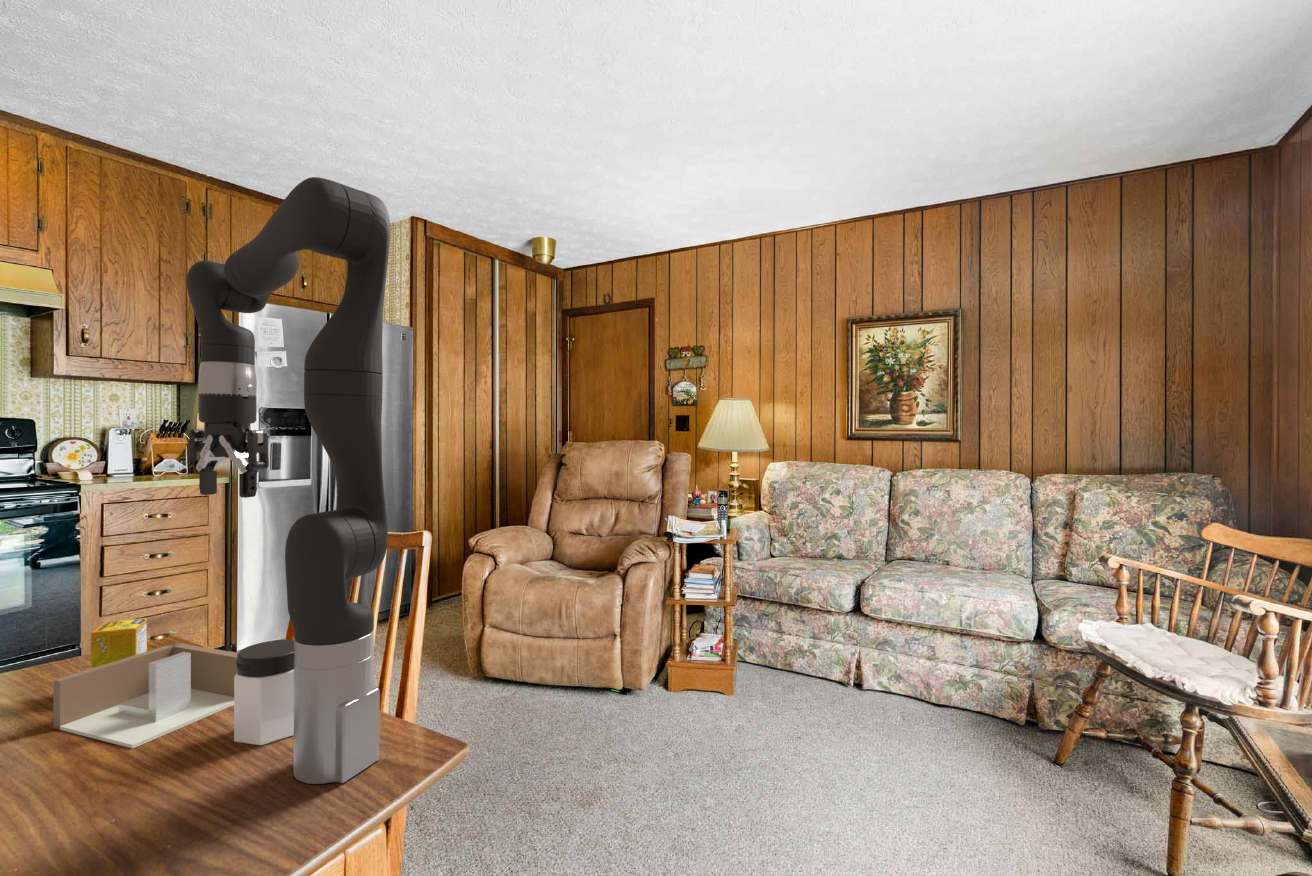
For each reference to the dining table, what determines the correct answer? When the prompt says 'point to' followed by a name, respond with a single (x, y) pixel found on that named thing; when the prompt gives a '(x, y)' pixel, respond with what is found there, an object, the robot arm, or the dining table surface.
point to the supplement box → (118, 641)
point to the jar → (264, 693)
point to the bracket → (163, 690)
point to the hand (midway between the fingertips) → (227, 495)
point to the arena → (98, 691)
